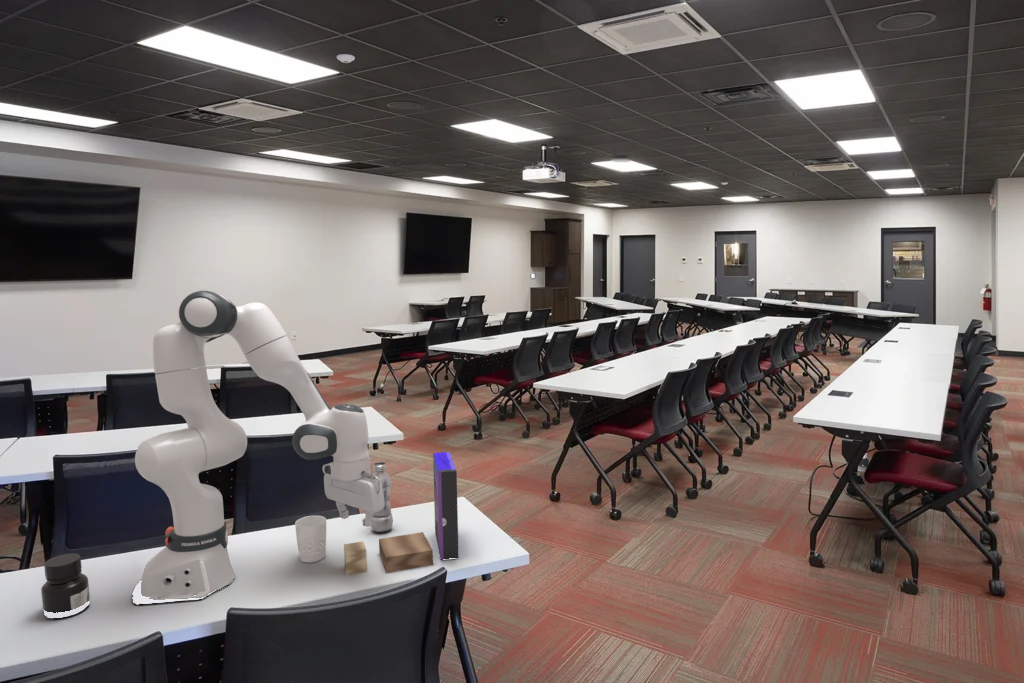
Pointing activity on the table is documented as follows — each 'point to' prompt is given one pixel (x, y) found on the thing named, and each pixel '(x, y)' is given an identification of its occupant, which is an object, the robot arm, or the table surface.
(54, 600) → the ink bottle
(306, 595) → the table surface
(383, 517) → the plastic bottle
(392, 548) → the walnut base
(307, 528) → the white cup
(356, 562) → the maple block
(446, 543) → the cereal box
